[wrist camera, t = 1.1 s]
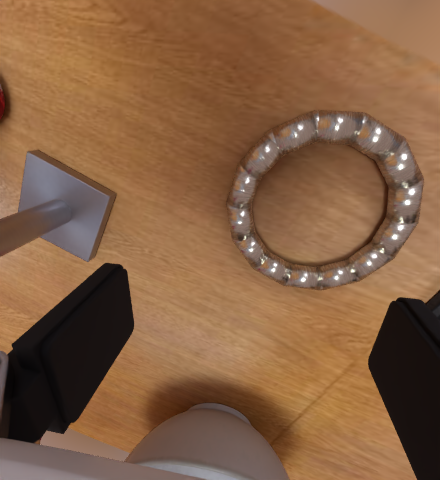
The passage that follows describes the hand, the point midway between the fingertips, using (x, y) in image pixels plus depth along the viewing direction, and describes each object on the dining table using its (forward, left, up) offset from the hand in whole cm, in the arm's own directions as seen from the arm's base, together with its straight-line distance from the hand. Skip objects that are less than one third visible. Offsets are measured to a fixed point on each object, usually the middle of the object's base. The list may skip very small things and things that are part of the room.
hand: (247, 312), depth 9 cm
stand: (+14, -19, -20) cm, 30 cm away
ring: (-1, +6, -18) cm, 19 cm away
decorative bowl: (+40, +16, -20) cm, 47 cm away
